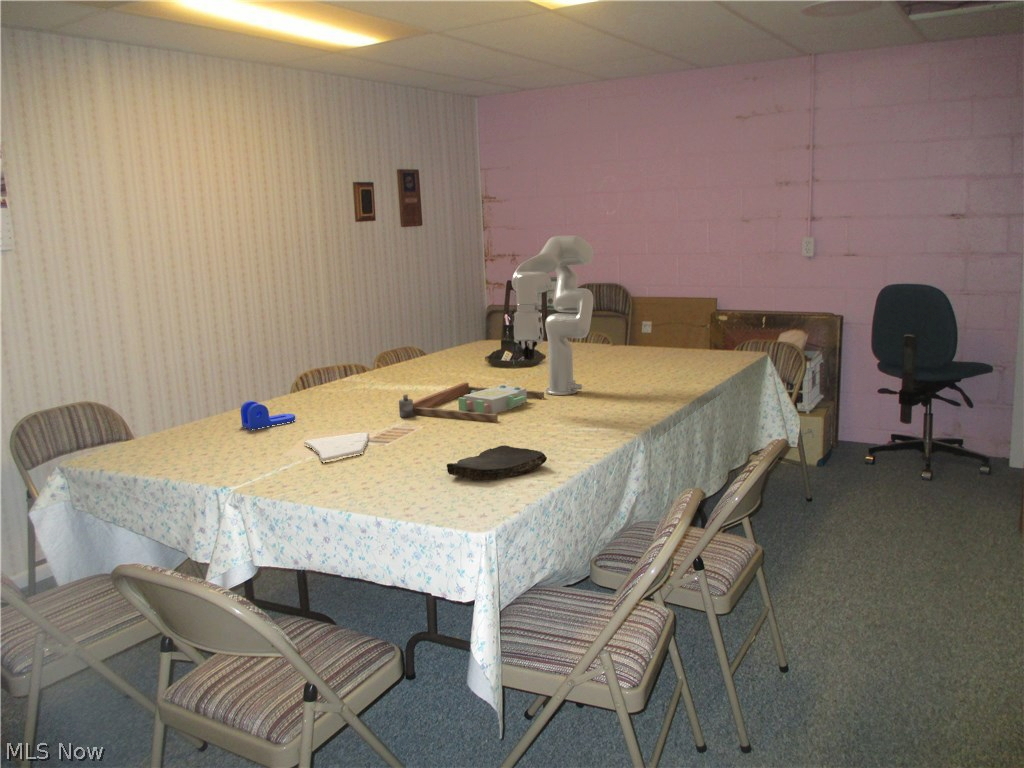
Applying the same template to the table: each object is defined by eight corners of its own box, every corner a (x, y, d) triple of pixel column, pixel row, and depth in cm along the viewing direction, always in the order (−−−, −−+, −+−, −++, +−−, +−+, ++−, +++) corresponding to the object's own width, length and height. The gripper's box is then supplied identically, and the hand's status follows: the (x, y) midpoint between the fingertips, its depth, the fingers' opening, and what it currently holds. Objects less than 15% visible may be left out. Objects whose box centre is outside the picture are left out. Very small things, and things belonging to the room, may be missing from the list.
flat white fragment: (304, 450, 267) (318, 467, 245) (303, 440, 267) (317, 456, 244) (368, 438, 275) (387, 454, 253) (366, 428, 275) (386, 443, 252)
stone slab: (440, 488, 230) (488, 489, 215) (435, 465, 229) (483, 464, 215) (506, 464, 248) (554, 463, 233) (501, 442, 247) (550, 441, 233)
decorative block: (495, 382, 324) (535, 387, 311) (495, 398, 325) (535, 404, 313) (449, 394, 305) (490, 401, 292) (450, 411, 306) (491, 418, 294)
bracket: (251, 431, 288) (248, 406, 286) (242, 427, 294) (239, 402, 292) (299, 421, 298) (297, 397, 297) (289, 418, 305) (287, 394, 303)
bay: (544, 398, 321) (543, 378, 319) (487, 426, 282) (486, 403, 280) (461, 391, 338) (460, 372, 337) (397, 417, 299) (395, 395, 297)
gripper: (551, 307, 294) (552, 358, 298) (513, 307, 301) (515, 356, 305) (542, 310, 288) (543, 362, 291) (503, 309, 295) (505, 360, 298)
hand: (529, 359), depth 298 cm, fingers closed
